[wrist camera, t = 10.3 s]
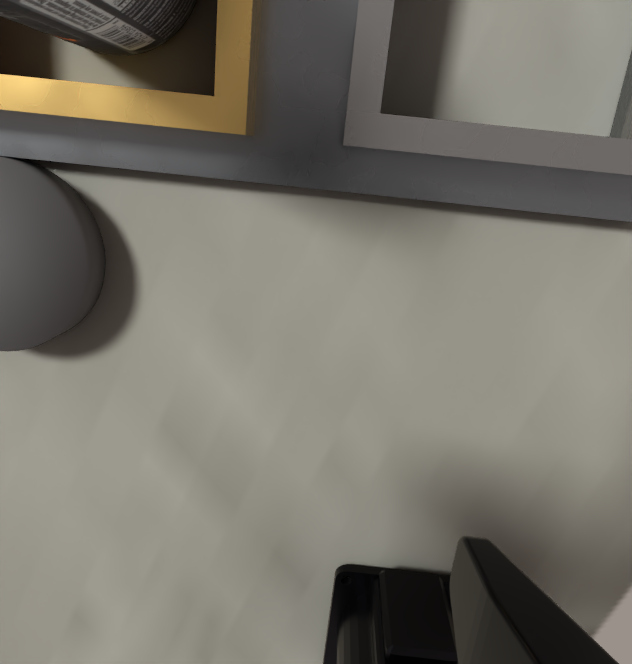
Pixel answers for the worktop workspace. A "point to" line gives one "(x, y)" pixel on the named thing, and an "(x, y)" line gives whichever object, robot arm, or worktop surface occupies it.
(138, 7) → the pill bottle
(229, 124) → the faceplate
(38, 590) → the worktop surface
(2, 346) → the grey puck
